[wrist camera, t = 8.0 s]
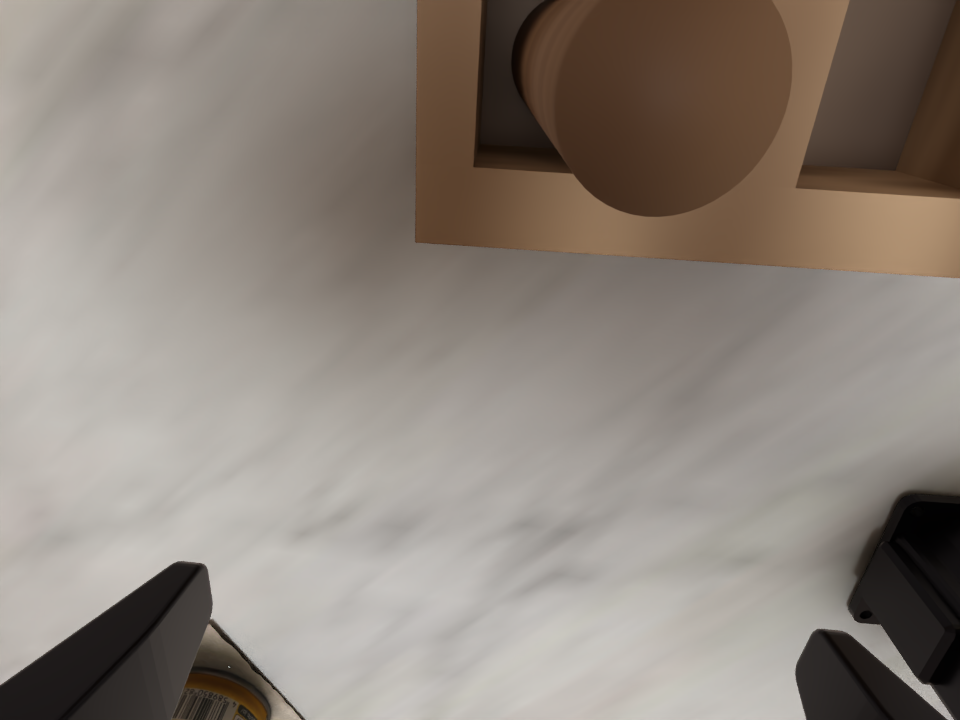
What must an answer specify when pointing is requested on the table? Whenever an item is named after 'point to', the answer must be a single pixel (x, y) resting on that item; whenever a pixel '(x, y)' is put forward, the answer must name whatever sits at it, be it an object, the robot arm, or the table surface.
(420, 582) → the table surface
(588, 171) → the dowel
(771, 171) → the bore block
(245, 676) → the condiment
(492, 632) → the table surface
